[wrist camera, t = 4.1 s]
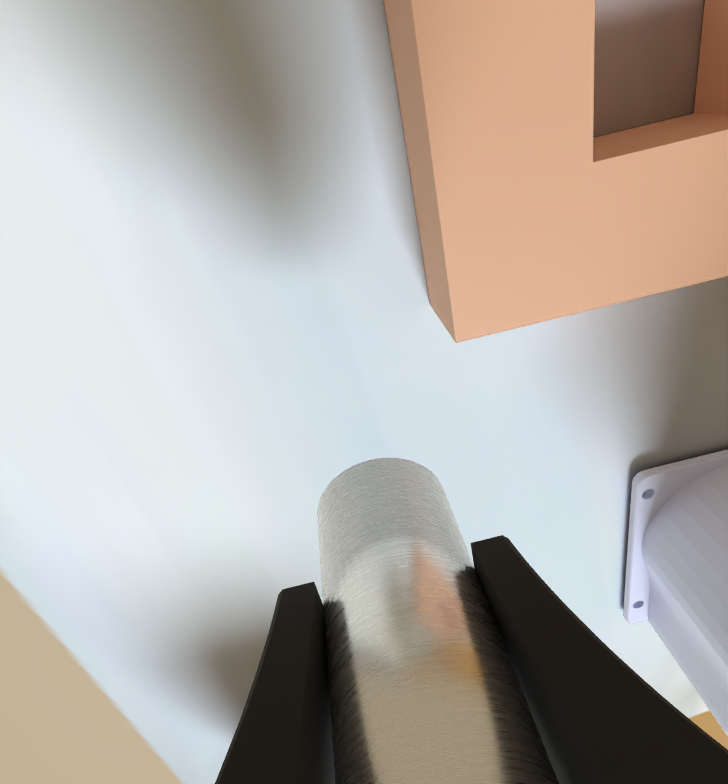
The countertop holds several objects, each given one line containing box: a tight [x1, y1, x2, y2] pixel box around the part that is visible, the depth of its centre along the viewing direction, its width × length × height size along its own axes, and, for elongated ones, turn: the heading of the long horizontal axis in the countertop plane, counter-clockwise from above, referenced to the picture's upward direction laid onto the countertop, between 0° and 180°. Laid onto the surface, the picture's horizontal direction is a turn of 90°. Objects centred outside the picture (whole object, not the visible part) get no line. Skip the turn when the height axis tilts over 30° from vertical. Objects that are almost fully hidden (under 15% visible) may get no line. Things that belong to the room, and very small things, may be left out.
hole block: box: [384, 0, 728, 343], centre depth 13 cm, size 12×12×3 cm
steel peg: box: [317, 458, 559, 784], centre depth 9 cm, size 3×3×8 cm
